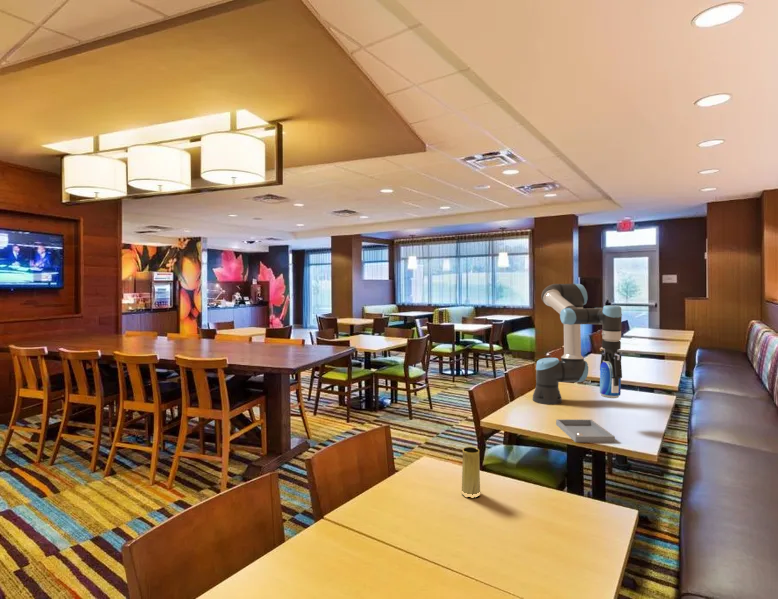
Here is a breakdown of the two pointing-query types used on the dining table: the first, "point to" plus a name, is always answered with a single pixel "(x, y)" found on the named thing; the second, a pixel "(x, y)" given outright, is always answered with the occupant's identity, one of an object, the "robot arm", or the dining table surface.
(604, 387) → the beer can
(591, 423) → the tray
